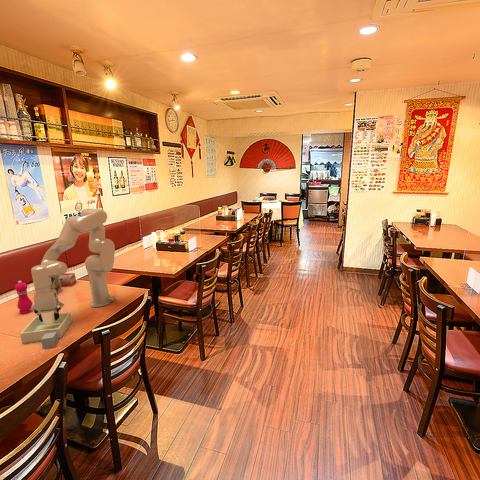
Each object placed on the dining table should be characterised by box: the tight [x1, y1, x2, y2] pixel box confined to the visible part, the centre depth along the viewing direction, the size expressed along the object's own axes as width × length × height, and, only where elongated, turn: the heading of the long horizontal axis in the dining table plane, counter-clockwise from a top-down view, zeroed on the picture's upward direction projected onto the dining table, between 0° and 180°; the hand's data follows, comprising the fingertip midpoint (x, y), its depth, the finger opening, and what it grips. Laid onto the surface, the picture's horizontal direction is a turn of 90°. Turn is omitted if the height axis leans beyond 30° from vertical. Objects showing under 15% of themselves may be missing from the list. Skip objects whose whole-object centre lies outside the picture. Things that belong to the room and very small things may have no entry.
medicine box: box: [59, 272, 77, 288], centre depth 209 cm, size 15×8×8 cm, turn 94°
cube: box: [40, 332, 59, 349], centre depth 137 cm, size 5×5×5 cm
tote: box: [19, 311, 73, 344], centre depth 148 cm, size 17×17×6 cm
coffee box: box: [51, 276, 63, 295], centre depth 194 cm, size 9×6×16 cm
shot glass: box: [40, 309, 56, 324], centre depth 150 cm, size 7×7×7 cm
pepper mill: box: [14, 280, 33, 315], centre depth 168 cm, size 7×7×20 cm
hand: (49, 319), depth 151 cm, fingers closed on shot glass, 6 cm apart
